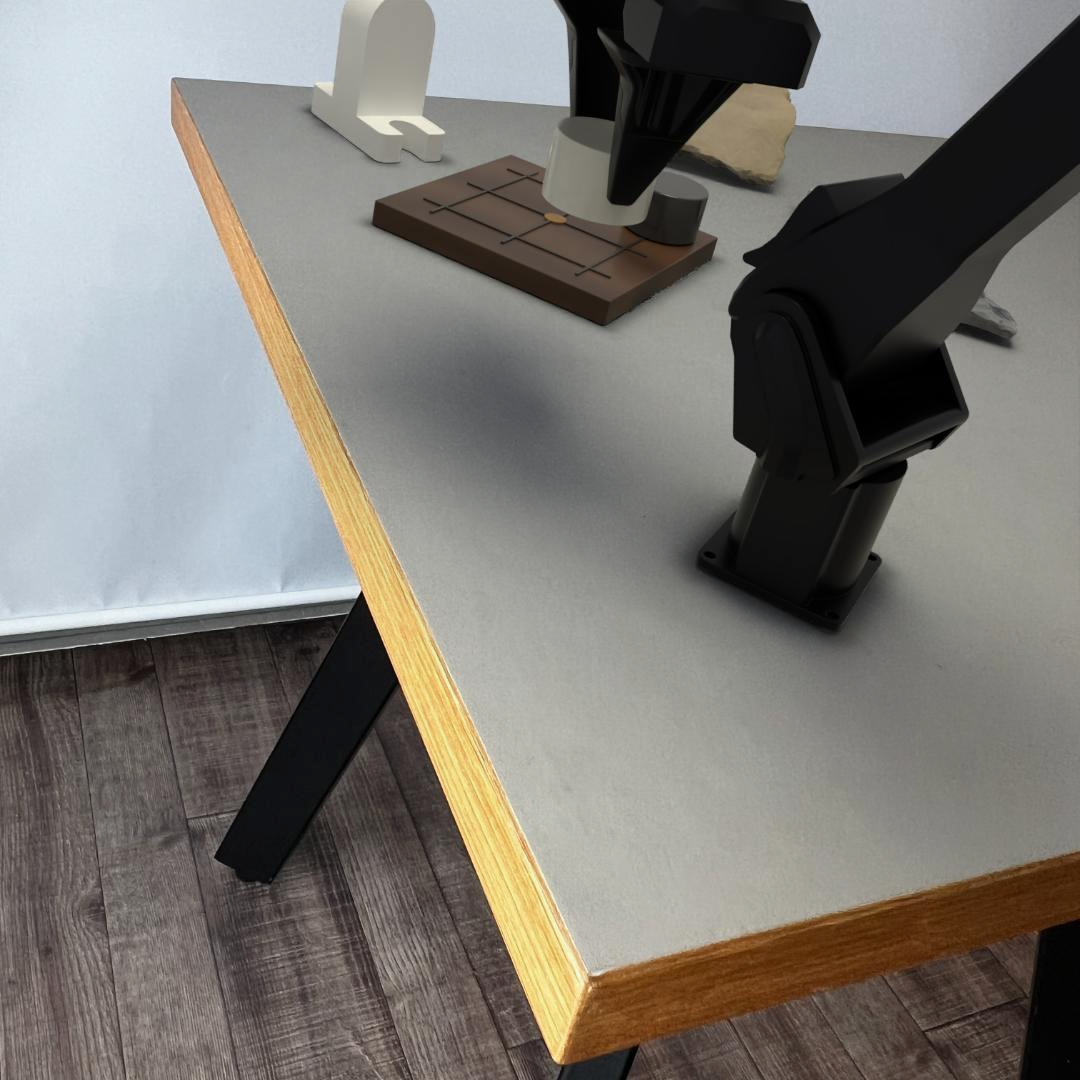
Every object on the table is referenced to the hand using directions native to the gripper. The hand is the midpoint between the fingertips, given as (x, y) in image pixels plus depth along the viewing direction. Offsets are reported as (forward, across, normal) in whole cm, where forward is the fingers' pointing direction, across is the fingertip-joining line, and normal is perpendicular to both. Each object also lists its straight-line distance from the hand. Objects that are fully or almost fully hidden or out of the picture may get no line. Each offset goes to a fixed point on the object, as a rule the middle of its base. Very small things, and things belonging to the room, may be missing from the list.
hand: (600, 180), depth 54 cm
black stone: (+10, -20, +13) cm, 26 cm away
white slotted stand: (+12, -36, -2) cm, 38 cm away
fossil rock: (+11, -21, +32) cm, 40 cm away
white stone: (+1, 0, 0) cm, 1 cm away
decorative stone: (+12, -39, +24) cm, 48 cm away
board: (+11, -20, +6) cm, 24 cm away
